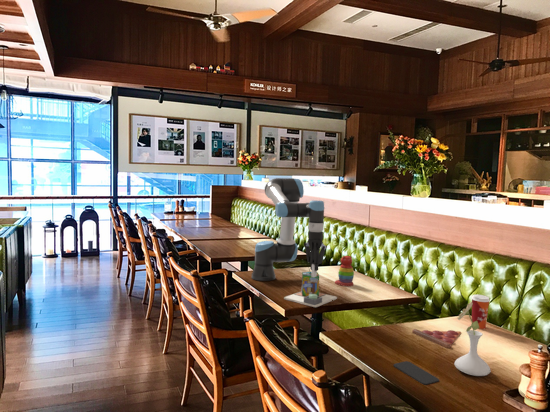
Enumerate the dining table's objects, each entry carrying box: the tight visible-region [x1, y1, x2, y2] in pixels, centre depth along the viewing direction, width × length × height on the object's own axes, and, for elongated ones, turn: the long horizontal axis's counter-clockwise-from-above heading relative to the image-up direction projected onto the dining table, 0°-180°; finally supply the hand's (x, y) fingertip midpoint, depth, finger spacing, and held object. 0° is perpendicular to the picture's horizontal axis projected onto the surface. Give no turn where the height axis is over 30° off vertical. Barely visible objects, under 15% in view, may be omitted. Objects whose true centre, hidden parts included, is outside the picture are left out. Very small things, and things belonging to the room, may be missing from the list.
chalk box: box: [301, 268, 320, 296], centre depth 229 cm, size 9×9×15 cm
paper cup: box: [470, 294, 491, 330], centre depth 189 cm, size 8×8×14 cm
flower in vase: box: [454, 301, 492, 377], centre depth 144 cm, size 13×11×25 cm
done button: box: [309, 294, 317, 300], centre depth 215 cm, size 4×4×2 cm
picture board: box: [283, 290, 338, 308], centre depth 224 cm, size 20×21×4 cm
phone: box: [393, 360, 440, 386], centre depth 142 cm, size 7×1×15 cm
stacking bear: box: [334, 255, 355, 287], centre depth 257 cm, size 11×10×18 cm
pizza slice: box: [411, 328, 462, 349], centre depth 177 cm, size 18×2×20 cm
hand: (314, 276), depth 214 cm, fingers closed
